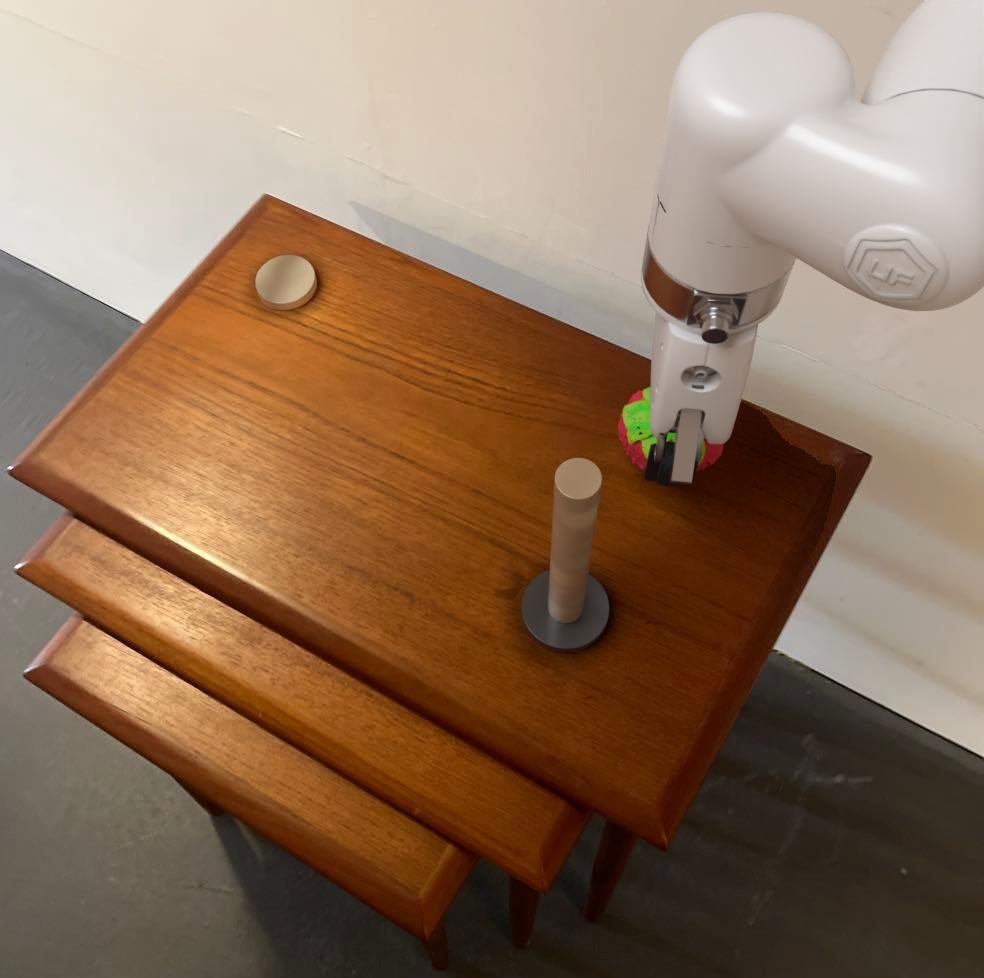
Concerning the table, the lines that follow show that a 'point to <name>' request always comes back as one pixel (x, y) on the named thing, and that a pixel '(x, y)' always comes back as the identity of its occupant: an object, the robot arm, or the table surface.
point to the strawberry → (640, 437)
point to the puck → (286, 282)
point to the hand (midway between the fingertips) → (670, 433)
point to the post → (569, 567)
